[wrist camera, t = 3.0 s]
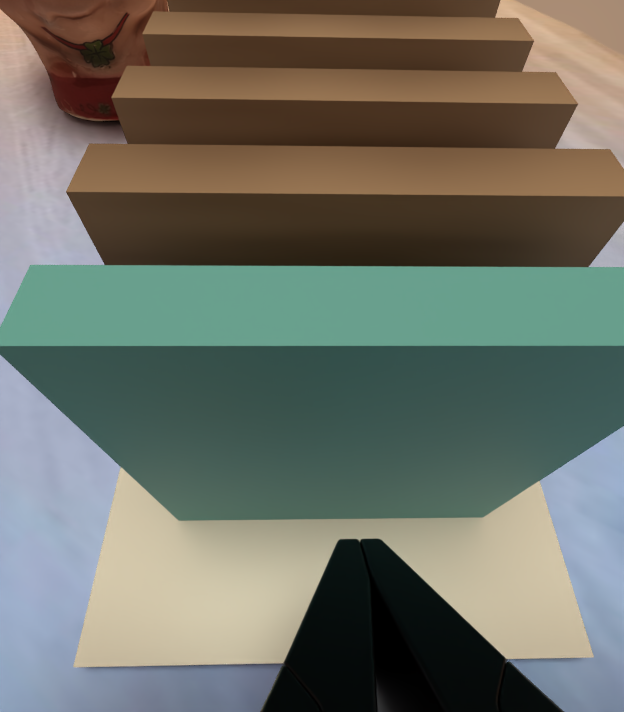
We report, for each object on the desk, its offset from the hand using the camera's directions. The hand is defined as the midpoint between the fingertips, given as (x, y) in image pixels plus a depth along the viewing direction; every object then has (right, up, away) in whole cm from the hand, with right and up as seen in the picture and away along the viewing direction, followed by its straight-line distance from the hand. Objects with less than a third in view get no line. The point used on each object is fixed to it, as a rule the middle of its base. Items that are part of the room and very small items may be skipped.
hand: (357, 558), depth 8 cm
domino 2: (0, +2, +9) cm, 10 cm away
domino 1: (0, -1, +7) cm, 8 cm away
